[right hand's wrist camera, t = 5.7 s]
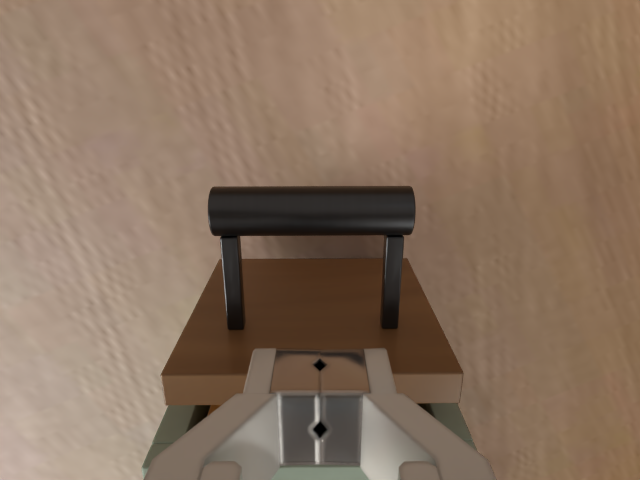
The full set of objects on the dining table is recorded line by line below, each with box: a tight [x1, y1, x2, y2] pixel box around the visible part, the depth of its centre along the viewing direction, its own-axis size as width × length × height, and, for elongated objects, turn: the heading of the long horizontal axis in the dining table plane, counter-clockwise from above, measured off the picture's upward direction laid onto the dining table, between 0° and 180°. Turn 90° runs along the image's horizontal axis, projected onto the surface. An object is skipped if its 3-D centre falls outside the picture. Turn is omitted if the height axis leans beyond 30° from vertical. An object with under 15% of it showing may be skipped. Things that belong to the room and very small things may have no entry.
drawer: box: [161, 186, 463, 416], centre depth 21 cm, size 25×9×9 cm, turn 0°
